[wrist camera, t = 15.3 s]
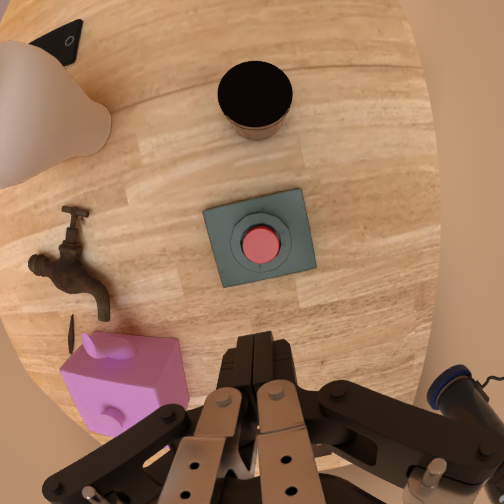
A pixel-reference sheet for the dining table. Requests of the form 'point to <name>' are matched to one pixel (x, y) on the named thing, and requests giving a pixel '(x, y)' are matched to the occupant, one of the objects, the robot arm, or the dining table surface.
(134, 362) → the teapot
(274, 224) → the switch box
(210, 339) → the dining table surface
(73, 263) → the faucet
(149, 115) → the dining table surface
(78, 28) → the cell phone
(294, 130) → the dining table surface
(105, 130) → the vase
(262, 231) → the button
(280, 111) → the supplement container
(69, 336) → the fork
